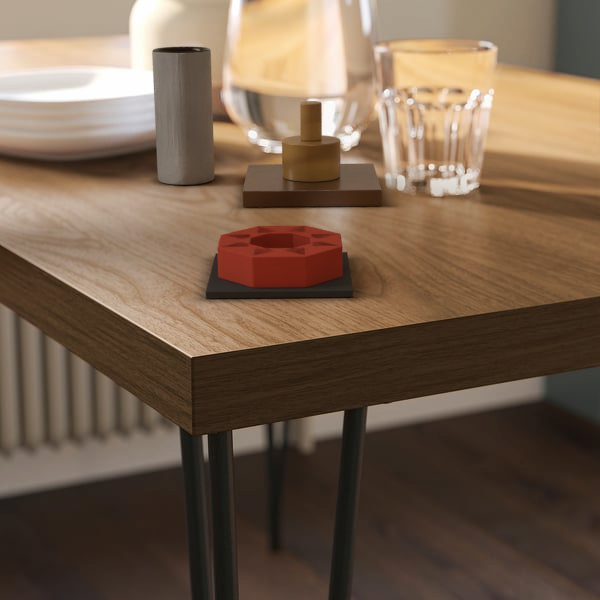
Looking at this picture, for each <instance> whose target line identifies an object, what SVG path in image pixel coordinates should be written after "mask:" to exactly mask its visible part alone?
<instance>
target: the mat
mask: <svg viewBox="0 0 600 600" xmlns="http://www.w3.org/2000/svg"><path fill="white" fill-rule="evenodd" d="M207 281H208V282H207V286H206V290H205V299H289V298H291V299H293V298H294V299H295V298H302V299H303V298H309V299H310V298H353V297H354V289H353V282H352V275H351V268H350V259H349V254H348V251H343V275H342V277H340V278H337V279H333V280H330V281H327V282H323V283H320V284H317V285H313V286H310V287H307V288H252V287H248V286H245V285H241V284H238V283H235V282H231V281H228V280H224V279H221V278H219V277H218V252H216V253H215V255H214V258H213V263H212V267H211V271H210V274H209V278H208V280H207Z"/></svg>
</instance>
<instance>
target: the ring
mask: <svg viewBox="0 0 600 600" xmlns="http://www.w3.org/2000/svg"><path fill="white" fill-rule="evenodd" d="M342 239H343V238H342V234H341V233H339V232H336V231H331V230H327V229H322V228H317V227H313V226H309V225H256V226H253V227H248V228H244V229H240V230H239V229H238V230H236V231H232V232H228V233H223V234H220V237H219V241H218V245H217V247H216V248H217V249H216V250H217V251H216V253H218V277H219V278H221V279H224V280H228V281H231V282H235V283H238V284H241V285H245V286H248V287H252V288H307V287H310V286H313V285H317V284H320V283H323V282H327V281H330V280H333V279H337V278H340V277H342V275H343V252H344V250H343V249H344V248H343V241H342Z"/></svg>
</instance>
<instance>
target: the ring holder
mask: <svg viewBox="0 0 600 600" xmlns="http://www.w3.org/2000/svg"><path fill="white" fill-rule="evenodd" d="M299 108H300V110H299V113H300V115H299V121H300V122H299V123H300V124H299V127H300V128H299V129H300V131H299V133H300V135H294V136H288V137H285V138H282V139H281V161H282V162H281V163H277V164H276V163H275V164H269V163H268V164H265V163H264V164H262V163H261V164H248V165H247V169H246V173H245V178H244V183H243V187H242V207H243V208H291V207H292V208H293V207H295V208H296V207H297V208H299V207H303V208H304V207H305V208H306V207H381V206H382V199H383V198H382V197H383V196H382V193H383V191H382V187H381V184H380V181H379V177H378V174H377V171H376V168H375V164H374V163H371V162H369V163H368V162H367V163H365V162H364V163H341V138H339V137H337V136H332V135H324V134H323V104H322V102H321V101H319V100H318V101H317V100H306V101H305V100H304V101H301V102H300V103H299Z"/></svg>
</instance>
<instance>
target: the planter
mask: <svg viewBox="0 0 600 600" xmlns="http://www.w3.org/2000/svg"><path fill="white" fill-rule="evenodd" d="M151 55H152V59H151V60H152V78H153V79H152V80H153V82H152V83H153V100H154V121H155V122H154V125H155V126H154V127H155V143H156V145H155V146H156V147H155V148H156V167H157V168H156V170H157V179H158V182H161V183H163V184H167V185H174V186H189V185H190V186H192V185H200V184H207V183H209V182H212V181H214V179H215V148H214V145H215V142H214V141H215V140H214V115H213V113H214V111H213V110H214V109H213V81H212V80H213V78H212V75H213V74H212V51H211V49H210V48H209V47H207V46H206V47H205V46H164V47H156V48H154V49H153V50H152V51H151Z"/></svg>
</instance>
